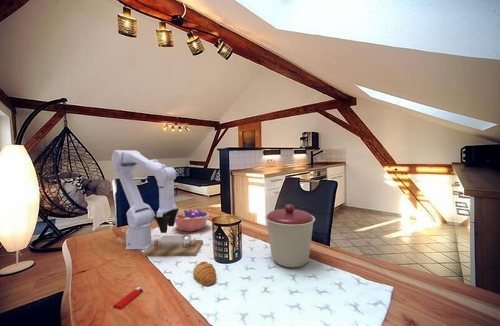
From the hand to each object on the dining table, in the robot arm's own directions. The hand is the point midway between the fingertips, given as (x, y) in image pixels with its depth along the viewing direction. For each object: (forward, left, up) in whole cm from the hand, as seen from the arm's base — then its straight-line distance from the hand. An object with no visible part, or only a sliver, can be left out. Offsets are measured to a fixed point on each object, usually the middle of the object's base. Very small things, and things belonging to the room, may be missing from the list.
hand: (167, 229), depth 86 cm
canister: (+49, -8, -10) cm, 51 cm away
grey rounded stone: (+3, +2, -8) cm, 9 cm away
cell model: (+2, +26, -10) cm, 28 cm away
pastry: (+20, -18, -10) cm, 29 cm away
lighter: (+1, -28, -10) cm, 30 cm away
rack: (+2, +2, -9) cm, 10 cm away
